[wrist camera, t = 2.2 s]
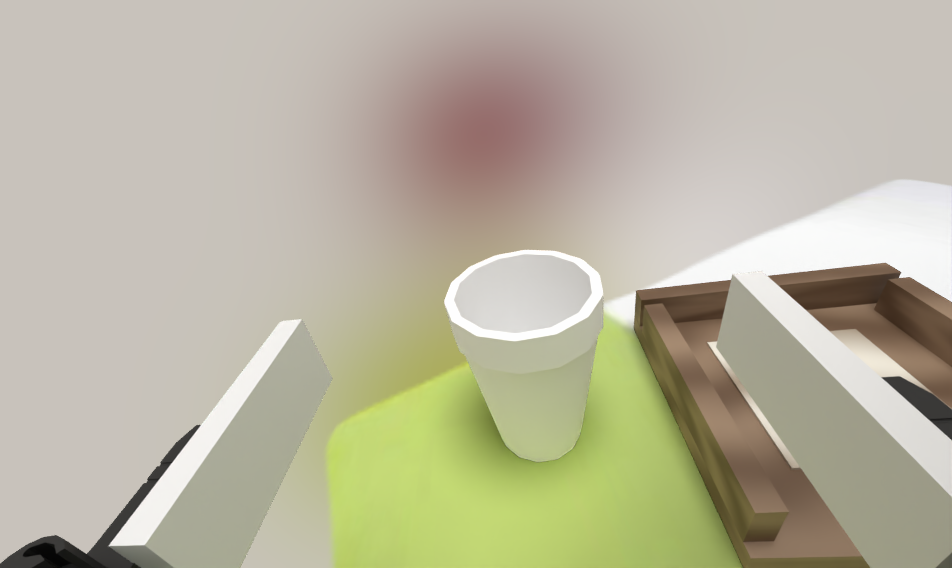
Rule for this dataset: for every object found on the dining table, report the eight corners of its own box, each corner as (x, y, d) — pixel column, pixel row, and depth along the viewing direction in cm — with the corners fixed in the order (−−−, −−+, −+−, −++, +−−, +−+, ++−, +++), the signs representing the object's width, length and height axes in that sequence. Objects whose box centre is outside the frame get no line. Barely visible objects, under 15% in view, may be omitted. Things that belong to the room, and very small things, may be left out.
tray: (1213, 563, 18) (1309, 514, 15) (744, 571, 20) (764, 529, 18) (865, 305, 34) (885, 262, 32) (633, 328, 37) (636, 290, 35)
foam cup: (627, 419, 29) (635, 275, 22) (549, 512, 24) (529, 368, 18) (532, 363, 36) (515, 238, 29) (456, 428, 31) (415, 299, 24)
